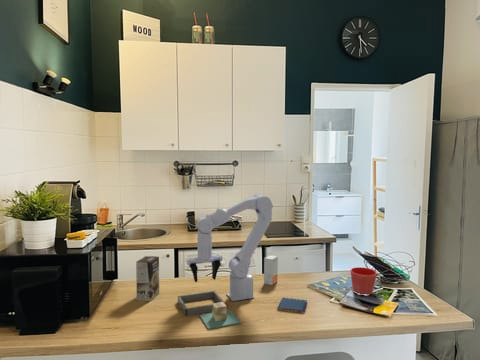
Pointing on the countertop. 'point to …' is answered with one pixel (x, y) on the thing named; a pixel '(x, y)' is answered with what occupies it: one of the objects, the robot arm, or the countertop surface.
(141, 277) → the coffee box
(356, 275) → the flower pot
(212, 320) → the teal board
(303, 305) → the dark blue flat block
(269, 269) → the skincare box
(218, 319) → the maple block
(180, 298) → the gray rectangular frame
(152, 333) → the countertop surface
